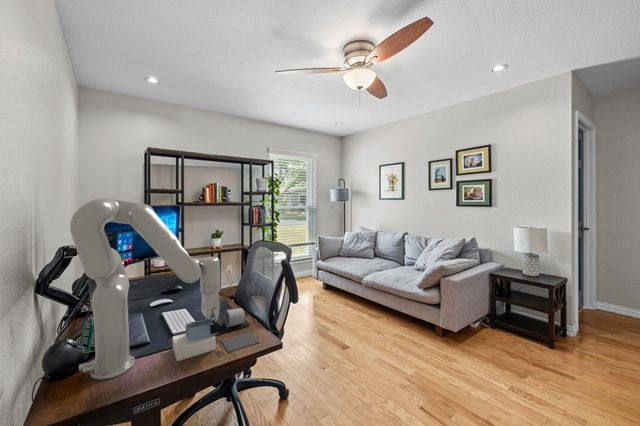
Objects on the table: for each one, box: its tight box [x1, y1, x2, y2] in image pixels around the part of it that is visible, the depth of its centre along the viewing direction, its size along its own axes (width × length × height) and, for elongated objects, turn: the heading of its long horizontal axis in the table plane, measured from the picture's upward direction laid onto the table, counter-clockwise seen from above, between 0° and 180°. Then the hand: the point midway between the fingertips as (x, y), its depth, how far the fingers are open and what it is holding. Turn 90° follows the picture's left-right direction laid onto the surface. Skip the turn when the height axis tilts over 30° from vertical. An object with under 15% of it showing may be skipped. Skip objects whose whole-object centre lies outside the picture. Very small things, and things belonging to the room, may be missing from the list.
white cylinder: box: [224, 307, 246, 328], centre depth 133 cm, size 11×8×8 cm
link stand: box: [172, 321, 217, 362], centre depth 111 cm, size 14×10×11 cm
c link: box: [185, 318, 219, 342], centre depth 112 cm, size 11×6×5 cm, turn 126°
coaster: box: [220, 331, 260, 353], centre depth 117 cm, size 13×10×1 cm
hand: (211, 328), depth 114 cm, fingers open, 9 cm apart
